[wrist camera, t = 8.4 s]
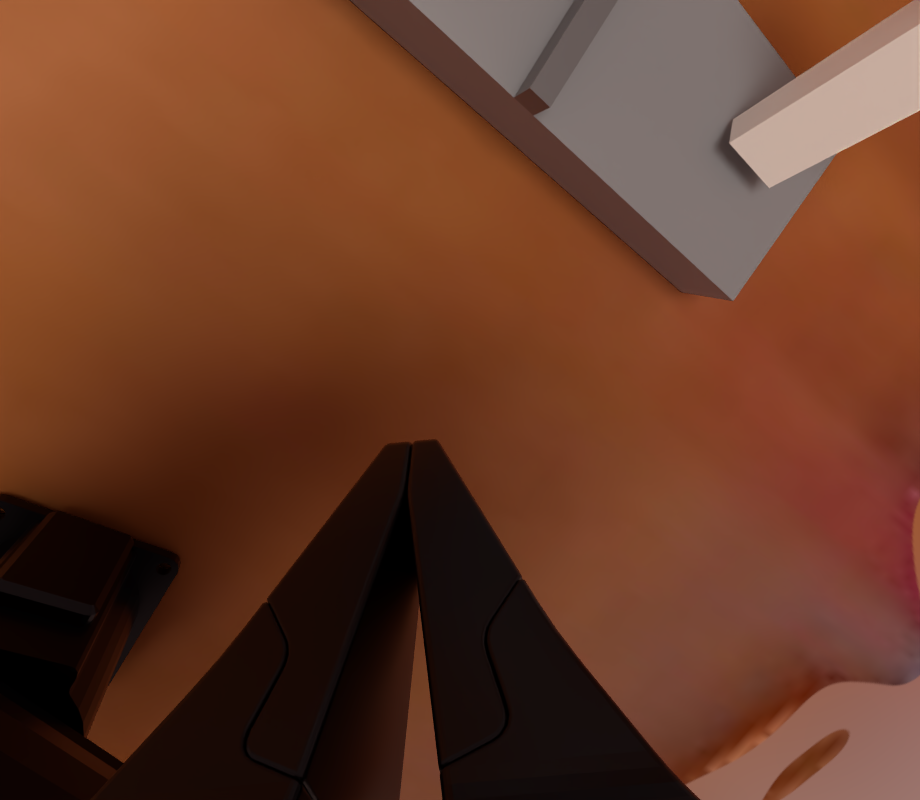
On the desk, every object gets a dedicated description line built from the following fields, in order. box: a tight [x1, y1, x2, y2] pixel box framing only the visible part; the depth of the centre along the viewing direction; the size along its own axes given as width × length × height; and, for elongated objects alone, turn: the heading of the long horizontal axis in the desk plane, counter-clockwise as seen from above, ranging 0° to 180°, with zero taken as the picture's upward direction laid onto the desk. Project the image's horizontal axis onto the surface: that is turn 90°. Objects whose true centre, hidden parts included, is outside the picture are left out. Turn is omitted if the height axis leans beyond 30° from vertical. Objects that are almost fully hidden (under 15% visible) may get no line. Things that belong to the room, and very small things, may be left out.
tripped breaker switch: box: [729, 0, 920, 188], centre depth 14 cm, size 2×6×9 cm
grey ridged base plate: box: [350, 0, 837, 301], centre depth 17 cm, size 7×22×4 cm, turn 56°
